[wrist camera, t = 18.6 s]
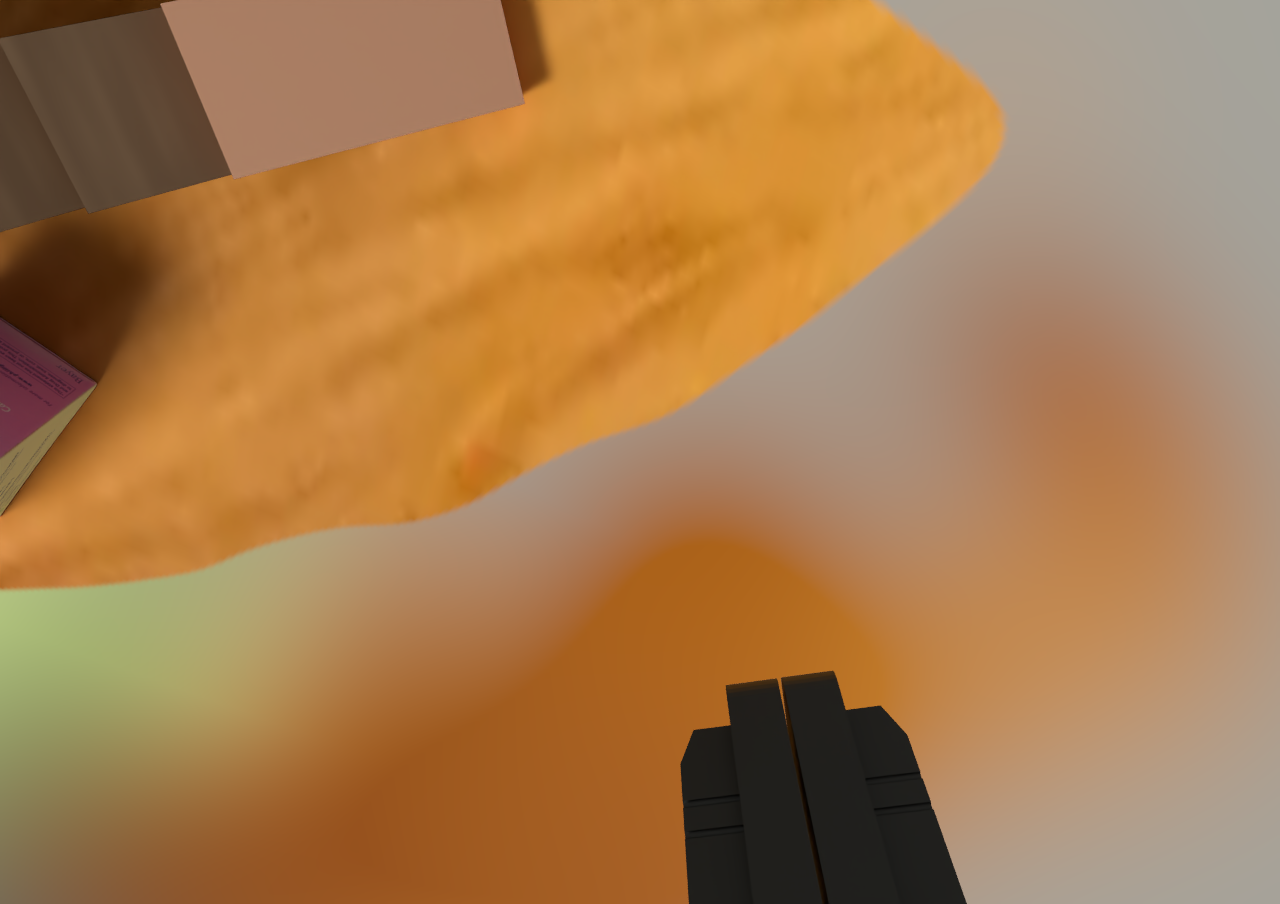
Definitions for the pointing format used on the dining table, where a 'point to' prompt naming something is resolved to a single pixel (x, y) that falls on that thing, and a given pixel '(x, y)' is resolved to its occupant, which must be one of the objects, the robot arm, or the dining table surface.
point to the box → (32, 405)
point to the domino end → (339, 71)
